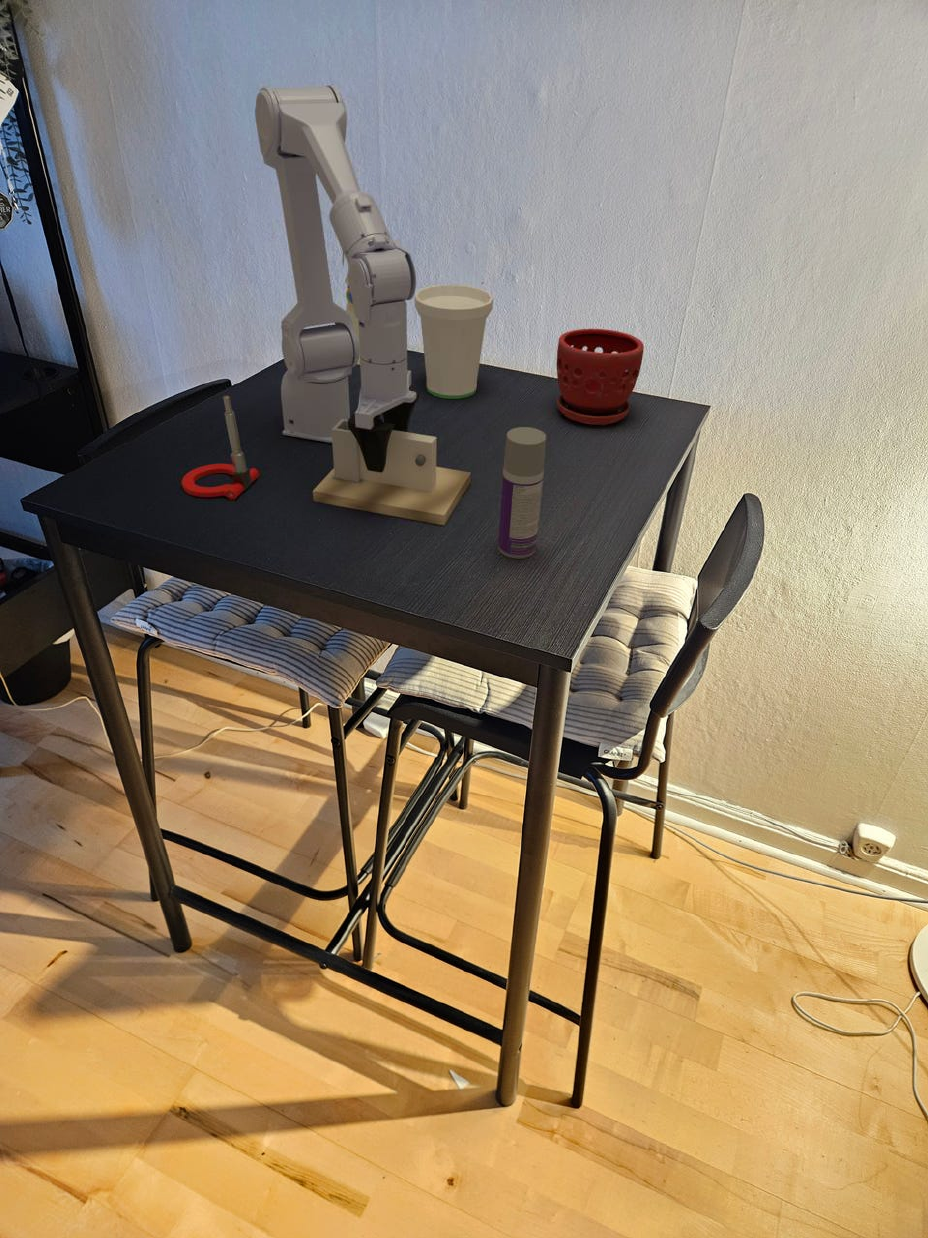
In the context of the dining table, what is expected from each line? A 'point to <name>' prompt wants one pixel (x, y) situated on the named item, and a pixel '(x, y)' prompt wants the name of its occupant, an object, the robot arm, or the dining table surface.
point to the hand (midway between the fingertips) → (386, 457)
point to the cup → (452, 336)
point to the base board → (397, 496)
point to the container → (521, 492)
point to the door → (387, 459)
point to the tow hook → (224, 467)
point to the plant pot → (597, 374)
